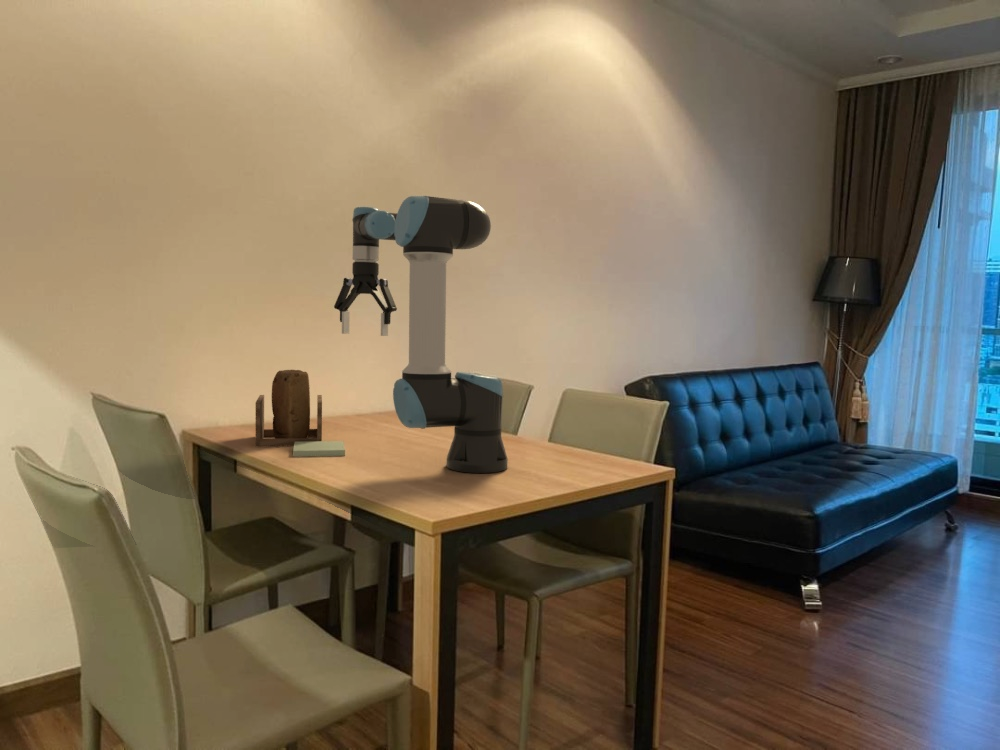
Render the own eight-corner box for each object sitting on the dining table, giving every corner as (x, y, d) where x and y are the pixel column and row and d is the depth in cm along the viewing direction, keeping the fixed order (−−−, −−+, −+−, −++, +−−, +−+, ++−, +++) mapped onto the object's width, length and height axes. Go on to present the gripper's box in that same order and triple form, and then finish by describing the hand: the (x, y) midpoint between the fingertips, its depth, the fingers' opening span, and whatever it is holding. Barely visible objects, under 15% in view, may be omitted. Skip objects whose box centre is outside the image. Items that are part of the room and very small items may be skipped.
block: (312, 442, 219) (312, 371, 217) (288, 445, 213) (289, 372, 211) (290, 436, 226) (291, 368, 224) (267, 439, 220) (267, 369, 219)
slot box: (321, 445, 214) (322, 402, 212) (255, 446, 210) (255, 402, 208) (321, 435, 230) (321, 395, 228) (259, 436, 225) (259, 395, 224)
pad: (345, 455, 201) (345, 450, 201) (293, 456, 198) (293, 450, 198) (343, 446, 214) (343, 441, 214) (294, 447, 211) (294, 441, 211)
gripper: (409, 262, 224) (407, 336, 226) (338, 262, 234) (337, 332, 236) (395, 261, 217) (394, 337, 219) (322, 260, 228) (322, 333, 230)
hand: (364, 334), depth 228 cm, fingers open, 13 cm apart
